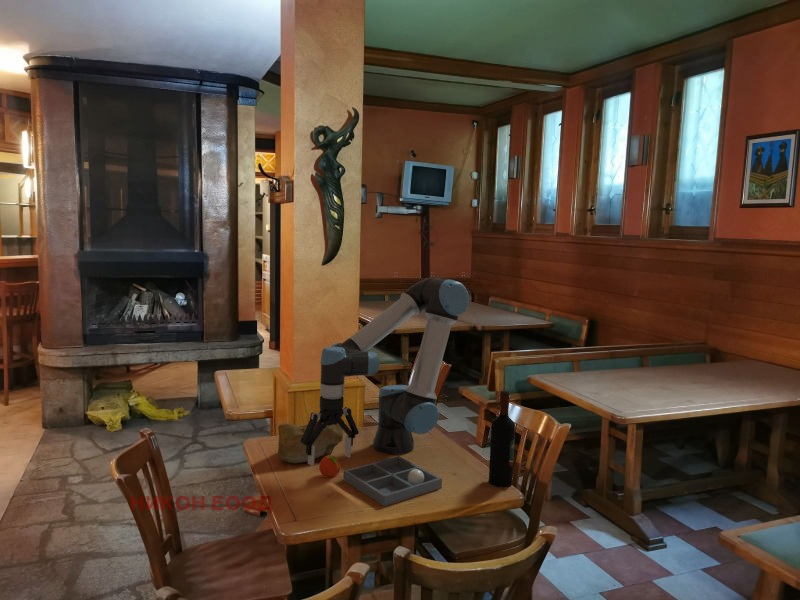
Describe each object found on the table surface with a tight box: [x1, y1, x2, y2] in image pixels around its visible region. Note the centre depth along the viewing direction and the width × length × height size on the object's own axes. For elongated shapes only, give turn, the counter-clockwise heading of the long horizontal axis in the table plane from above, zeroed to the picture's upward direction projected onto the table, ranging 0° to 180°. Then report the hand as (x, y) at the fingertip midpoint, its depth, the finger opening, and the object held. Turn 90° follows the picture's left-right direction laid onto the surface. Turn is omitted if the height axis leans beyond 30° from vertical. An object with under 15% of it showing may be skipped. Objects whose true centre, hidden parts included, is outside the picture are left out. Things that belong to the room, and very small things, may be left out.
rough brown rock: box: [277, 418, 344, 464], centre depth 211 cm, size 23×17×15 cm
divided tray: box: [342, 455, 443, 507], centre depth 187 cm, size 22×22×4 cm
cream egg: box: [408, 469, 424, 485], centre depth 186 cm, size 5×5×5 cm
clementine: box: [318, 454, 342, 478], centre depth 192 cm, size 8×7×7 cm
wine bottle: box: [488, 390, 516, 488], centre depth 191 cm, size 8×8×30 cm
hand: (329, 460), depth 192 cm, fingers open, 13 cm apart
